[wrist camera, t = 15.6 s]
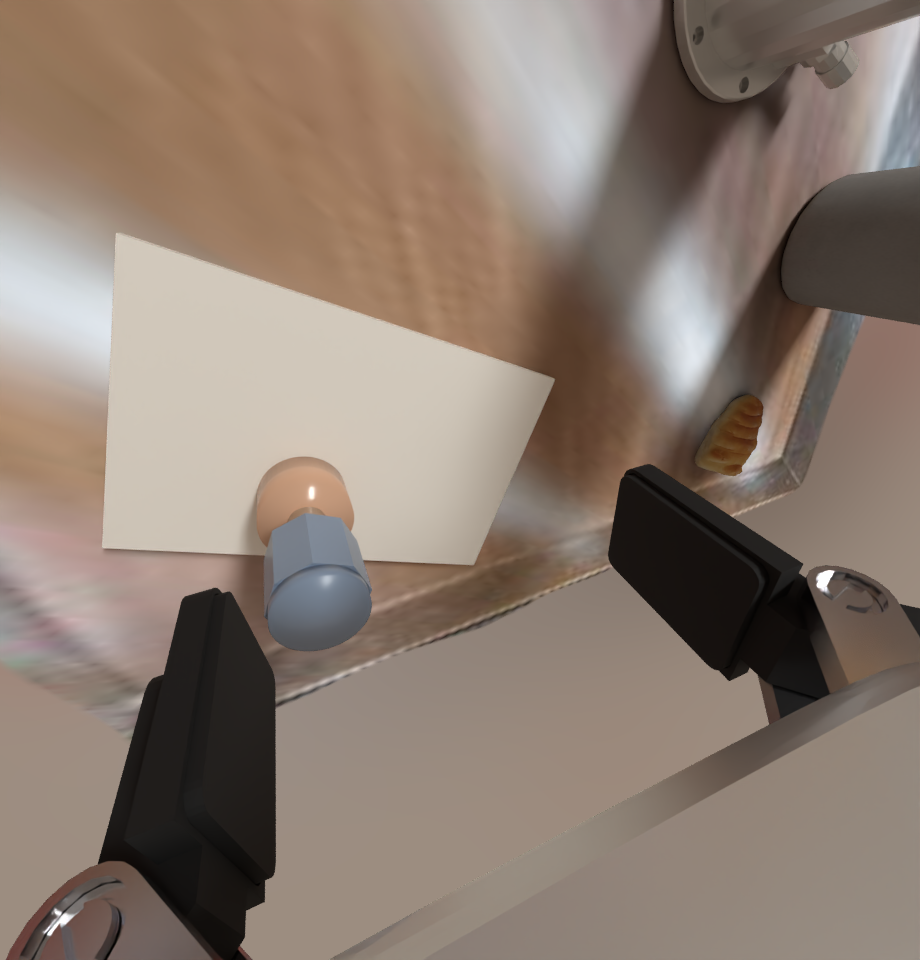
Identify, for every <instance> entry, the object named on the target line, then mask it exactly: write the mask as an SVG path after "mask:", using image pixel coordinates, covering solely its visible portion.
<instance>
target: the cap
mask: <svg viewBox="0 0 920 960" xmlns="http://www.w3.org/2000/svg"><path fill="white" fill-rule="evenodd" d="M371 591H372V588H371V585H370V581H369V578H368V575H367V572H366V568H365V565H364V562H363V558H362V555H361V552H360V549H359V545H358V542H357V540H356V538H355V537H354V536H353V534H352V533H351V531H350V530H349V529H348V527H347V526H346V524H345V523H344V522H343V520H342V519H341V518H338V517H331V516H324V515H316V514H309V513H304V514H302V515H301V516H299V517H297V518H295V519H293V520H291V521H289V522H288V523H286V524H284V525H282V526H280V527H278V528H276V529H275V530H273V531H272V533H271V536H270V540H269V543H268V547H267V550H266V554H265V557H264V617H265V618H266V619H267V620H268V628H269V631H270V633H271V635H272V637H273V638H274V639H275V640H276V641H277V642H278V643H280V644H281V645H283V646H285V647H287V648H290V649H294V650H299V651H317V650H323V649H327V648H331V647H334V646H336V645H339V644H341V643H343V642H345V641H346V640H348V639H350V638H351V637H352V636H354V635H355V634H356V633H357V632H358V631H359V630H360V629H361V628H362V627H363V626H364V625H365V623H366V622H367V620H368V618H369V616H370V613H371V608H372V602H371V597H370V593H371Z"/></svg>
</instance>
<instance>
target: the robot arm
mask: <svg viewBox="0 0 920 960" xmlns="http://www.w3.org/2000/svg"><path fill="white" fill-rule="evenodd" d="M917 16H920V0H674V24H675V32H676V39H677V46H678V49H679V53H680V57H681V60H682V64H683V66H684V68H685V70H686V72H687V75H688V77H689V79H690V81H691V82H692V83H693V84H694V86H695V87H696V88H697V90H698V91H699V92H700V93H701V94H703V95H704V96H706V97H707V98H708V99H710V100H713V101H716V102H720V103H731V102H737V101H740V100H744V99H748V98H751V97H753V96H754V95H756V94H758V93H760V92H762V91H764V90H765V89H766V88H767V87H769V86H770V85H771V84H772V83H773V82H775V81H776V80H777V79H778V78H779V76H780V75H781V74H782V73H783V72H784V71H785V70H786V69H787V67H788V66H789V65H792V64H796V63H799V62H800V64H801V65H802V66H803V67H804V68H807V67H812V66H813V67H814V68H815V73H816V75H817V76H818V77H819V79H820V80H821V81H822V82H823V84H824V85H825V86H826V87H827V88H829V89H833V88H837V87H839V86H840V85H842V84H843V83H845V82H846V81H847V80H848V79H849V78H850V77H851V76H852V75H853V74H854V72H855V71H856V69H857V67H858V64H859V59H858V58H857V56H856V55H855V53H854V52H853V50H852V49H851V47H850V46H849V44H848V43H847V41H844V40H846V39H849V38H852V37H855V36H858V35H861V34H864V33H868V32H871V31H874V30H877V29H880V28H883V27H886V26H889V25H892V24H895V23H899V22H902V21H905V20H908V19H911V18H914V17H917ZM608 557H609V561H610V563H611V565H612V566H613V567H614V569H615V570H616V571H617V572H618V573H619V574H620V575H621V576H622V577H623V578H624V579H625V580H626V581H627V582H628V583H629V584H630V585H631V586H632V587H633V588H634V589H635V590H636V591H637V592H638V593H639V594H640V595H641V596H642V598H643V599H644V600H645V601H646V602H647V603H648V604H649V605H650V606H651V607H652V608H653V609H654V610H655V611H656V612H657V613H658V614H659V615H660V616H661V617H662V618H663V619H664V620H665V621H666V622H667V623H668V624H669V625H670V627H671V628H673V630H674V631H675V632H676V633H677V634H678V635H679V636H680V637H681V638H682V639H683V640H684V641H685V642H686V643H687V644H688V645H689V646H690V647H691V648H692V649H693V650H694V651H695V652H696V653H697V654H698V655H699V657H701V659H702V660H703V661H704V662H705V663H706V664H707V665H708V666H710V667H711V668H713V669H715V670H719V671H720V672H721V673H722V674H723V675H724V676H725V677H726V678H727V680H729V681H730V680H732V679H734V678H737V677H739V676H741V675H743V674H745V673H747V672H748V670H749V668H751V669H752V670H753V671H754V672H755V673H757V674H758V678H759V682H760V686H761V691H762V694H763V700H764V704H765V708H766V713H767V717H768V721H769V725H768V726H766V727H764V728H762V729H760V730H758V731H756V732H755V733H753V734H751V735H749V736H747V737H745V738H743V739H741V740H739V741H738V742H735V743H734V744H731V745H730V746H728V747H726V748H724V749H722V750H720V751H718V752H716V753H714V754H712V755H710V756H708V757H706V758H704V759H703V760H701V761H699V762H697V763H695V764H693V765H691V766H689V767H687V768H685V769H684V770H682V771H680V772H678V773H676V774H674V775H672V776H670V777H668V778H666V779H664V780H663V781H661V782H659V783H657V784H655V785H653V786H652V787H649V788H647V789H645V790H644V791H642V792H640V793H638V794H636V795H634V796H632V797H630V798H628V799H627V800H625V801H623V802H621V803H619V804H617V805H615V806H613V807H611V808H609V809H607V810H605V811H604V812H602V813H600V814H598V815H596V816H594V817H592V818H590V819H588V820H587V821H585V822H583V823H581V824H579V825H577V826H575V827H573V828H571V829H569V830H567V831H566V832H564V833H562V834H560V835H558V836H556V837H554V838H552V839H551V840H549V841H547V842H545V843H543V844H541V845H539V846H537V847H536V848H534V849H532V850H530V851H528V852H526V853H524V854H523V855H520V856H519V857H517V858H515V859H513V860H511V861H509V862H507V863H506V864H504V865H502V866H500V867H498V868H496V869H494V870H492V871H491V872H489V873H487V874H485V875H483V876H481V877H479V878H477V879H475V880H473V881H472V882H470V883H468V884H466V885H464V886H462V887H460V888H459V889H457V890H455V891H453V892H451V893H449V894H447V895H446V896H443V897H442V898H440V899H438V900H436V901H434V902H432V903H430V904H428V905H427V906H425V907H423V908H421V909H419V910H418V911H416V912H414V913H413V914H410V915H409V916H407V917H405V918H403V919H402V920H400V921H398V922H396V923H394V924H393V925H391V926H389V927H387V928H385V929H384V930H382V931H380V932H379V933H376V934H375V935H373V936H371V937H369V938H367V939H366V940H364V941H362V942H360V943H358V944H357V945H355V946H353V947H351V948H349V949H348V950H346V951H344V952H342V953H340V954H338V955H337V956H335V957H333V958H332V959H329V960H920V608H915V607H910V606H906V605H902V604H899V603H898V601H897V599H896V598H895V597H894V596H893V595H892V593H891V592H890V591H889V590H888V589H887V588H885V587H884V586H883V585H882V584H880V583H879V582H877V581H876V580H874V579H872V578H870V577H868V576H866V575H864V574H862V573H859V572H857V571H854V570H851V569H847V568H843V567H839V566H828V565H825V566H819V567H815V568H813V569H812V570H810V571H809V573H808V575H807V577H806V578H805V577H804V576H802V575H801V574H799V571H800V569H801V567H802V566H803V563H801V562H800V561H798V560H797V559H795V558H793V557H792V556H791V555H789V554H787V553H786V552H784V551H783V550H781V549H780V548H778V547H777V546H775V545H774V544H772V543H771V542H769V541H768V540H766V539H765V538H763V537H762V536H760V535H758V534H757V533H755V532H754V531H752V530H751V529H749V528H748V527H746V526H745V525H743V524H742V523H740V522H739V521H737V520H736V519H734V518H733V517H731V516H730V515H728V514H727V513H725V512H724V511H722V510H720V509H719V508H717V507H716V506H714V505H713V504H711V503H710V502H708V501H707V500H705V499H704V498H702V497H701V496H699V495H698V494H696V493H695V492H693V491H692V490H690V489H688V488H687V487H685V486H684V485H682V484H681V483H679V482H678V481H676V480H675V479H673V478H672V477H670V476H669V475H667V474H666V473H664V472H663V471H661V470H660V469H658V468H656V467H655V466H653V465H651V464H647V465H643V466H640V467H636V468H633V469H629V470H627V471H626V473H625V475H624V477H623V478H622V479H621V481H620V486H619V492H618V498H617V504H616V510H615V516H614V522H613V528H612V534H611V540H610V546H609V552H608ZM275 761H276V760H275V679H274V674H273V671H272V669H271V667H270V665H269V663H268V661H267V659H266V657H265V655H264V653H263V651H262V650H261V648H260V646H259V644H258V642H257V640H256V638H255V636H254V634H253V632H252V631H251V629H250V627H249V625H248V623H247V621H246V619H245V617H244V615H243V613H242V612H241V610H240V608H239V606H238V604H237V602H236V600H235V598H234V596H233V595H232V593H231V592H225V593H221V591H220V590H219V589H218V588H213V589H209V590H206V591H202V592H199V593H195V594H192V595H188V596H185V597H184V598H183V600H182V602H181V606H180V610H179V614H178V618H177V622H176V626H175V631H174V635H173V639H172V643H171V647H170V651H169V655H168V660H167V664H166V668H165V672H164V675H161V676H158V677H155V678H153V679H152V680H151V681H150V682H149V684H148V685H147V688H146V690H145V693H144V697H143V700H142V704H141V708H140V711H139V715H138V719H137V722H136V726H135V730H134V733H133V737H132V741H131V744H130V748H129V752H128V755H127V759H126V762H125V766H124V770H123V773H122V777H121V781H120V785H119V788H118V792H117V796H116V799H115V803H114V807H113V810H112V814H111V817H110V821H109V825H108V829H107V832H106V836H105V840H104V843H103V847H102V850H101V854H100V858H99V862H98V865H95V866H92V867H89V868H88V869H86V870H84V871H83V872H81V873H79V874H78V875H76V876H75V877H73V878H71V879H70V880H68V881H67V882H66V883H65V884H64V885H63V886H61V887H60V888H59V889H58V890H57V891H56V892H55V893H54V894H52V896H50V897H49V898H48V899H47V900H46V901H45V902H44V903H43V905H42V906H41V907H40V908H39V909H38V911H37V912H36V913H35V914H34V915H33V916H32V918H31V919H30V920H29V921H28V922H27V924H26V925H25V927H24V929H23V930H22V932H21V933H20V935H19V937H18V938H17V940H16V941H15V943H14V944H13V946H12V948H11V949H10V951H9V953H8V956H7V958H6V960H252V959H251V958H250V956H249V955H248V954H247V953H246V952H245V951H244V950H243V949H242V948H241V947H240V944H241V943H242V941H243V939H244V938H245V920H246V919H245V918H246V910H248V909H250V908H252V907H255V906H257V905H259V904H261V903H263V902H265V880H267V879H269V878H271V877H272V876H273V875H274V872H275V863H276V825H275V824H276V811H275V810H276V805H275V804H276V794H275V793H276V788H275V786H276V785H275V784H276V778H275V777H276V776H275V775H276V774H275V771H276V769H275V768H276V767H275V766H276V763H275Z"/></svg>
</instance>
